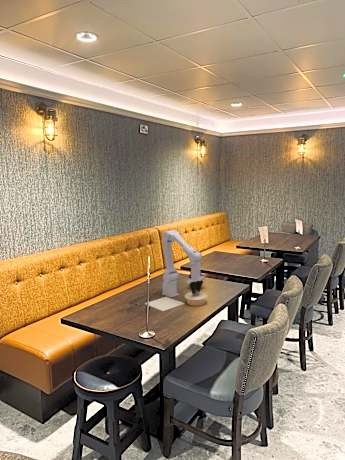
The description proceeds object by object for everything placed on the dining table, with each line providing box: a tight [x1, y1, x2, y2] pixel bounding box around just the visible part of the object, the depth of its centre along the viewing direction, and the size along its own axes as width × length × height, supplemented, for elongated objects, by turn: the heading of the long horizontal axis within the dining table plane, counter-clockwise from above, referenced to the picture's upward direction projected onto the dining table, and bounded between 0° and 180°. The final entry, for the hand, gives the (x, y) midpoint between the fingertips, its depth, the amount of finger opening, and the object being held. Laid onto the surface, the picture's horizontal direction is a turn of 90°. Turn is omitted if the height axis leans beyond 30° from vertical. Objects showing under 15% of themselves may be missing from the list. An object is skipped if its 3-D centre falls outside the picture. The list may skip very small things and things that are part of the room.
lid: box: [184, 290, 208, 300], centre depth 228 cm, size 14×14×4 cm
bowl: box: [186, 298, 206, 307], centre depth 228 cm, size 11×11×4 cm
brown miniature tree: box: [188, 270, 205, 284], centre depth 258 cm, size 11×11×15 cm
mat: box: [144, 296, 186, 312], centre depth 228 cm, size 18×18×1 cm
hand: (195, 292), depth 228 cm, fingers open, 4 cm apart
